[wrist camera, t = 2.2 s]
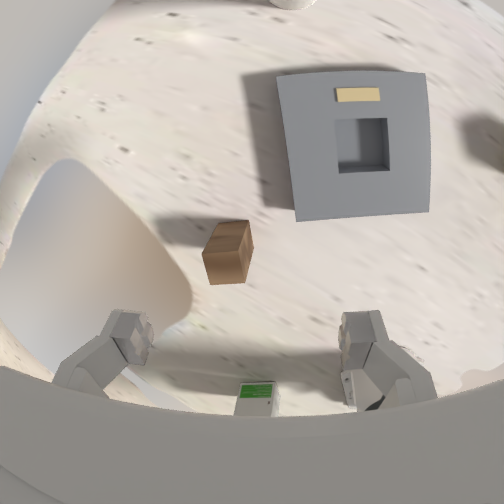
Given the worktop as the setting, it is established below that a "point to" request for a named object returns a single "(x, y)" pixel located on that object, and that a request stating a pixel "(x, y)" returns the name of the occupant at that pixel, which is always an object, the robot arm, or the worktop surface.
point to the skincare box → (258, 400)
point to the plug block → (228, 253)
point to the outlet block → (357, 143)
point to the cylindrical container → (292, 4)
